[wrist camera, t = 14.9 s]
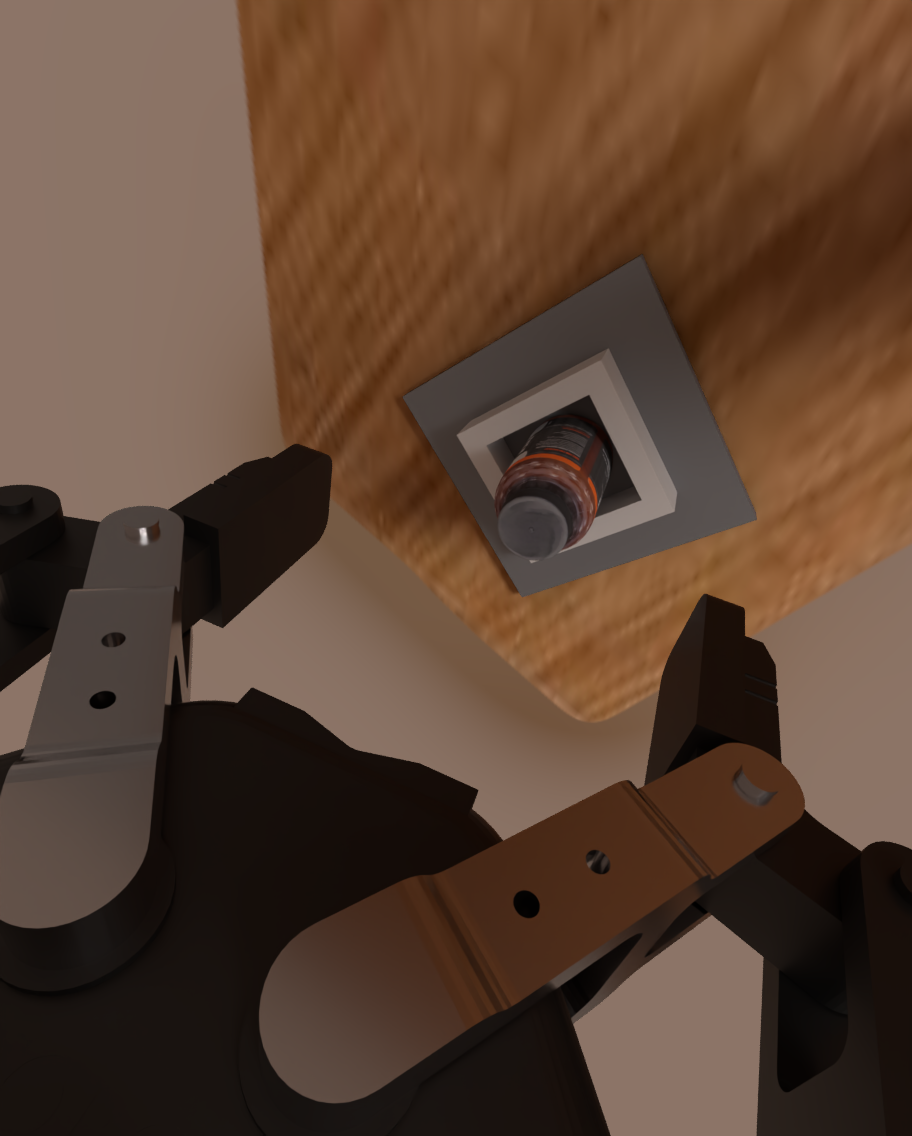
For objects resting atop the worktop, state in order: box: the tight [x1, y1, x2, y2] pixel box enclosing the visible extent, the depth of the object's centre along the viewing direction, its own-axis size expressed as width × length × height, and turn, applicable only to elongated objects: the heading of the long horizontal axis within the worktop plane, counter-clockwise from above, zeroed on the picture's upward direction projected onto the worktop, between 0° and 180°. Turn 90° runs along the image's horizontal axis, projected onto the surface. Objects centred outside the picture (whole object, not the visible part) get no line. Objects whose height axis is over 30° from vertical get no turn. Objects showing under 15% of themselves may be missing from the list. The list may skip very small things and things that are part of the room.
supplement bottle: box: [494, 415, 613, 561], centre depth 39 cm, size 6×6×11 cm
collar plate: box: [403, 254, 757, 597], centre depth 43 cm, size 18×18×4 cm
